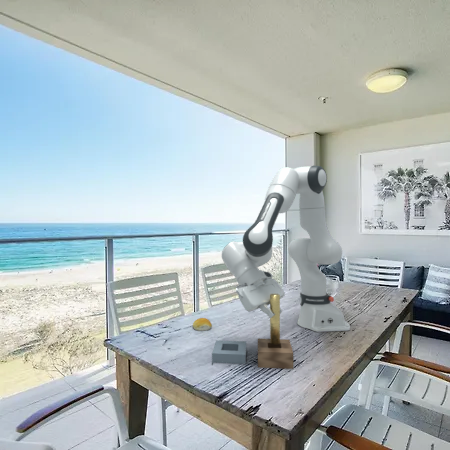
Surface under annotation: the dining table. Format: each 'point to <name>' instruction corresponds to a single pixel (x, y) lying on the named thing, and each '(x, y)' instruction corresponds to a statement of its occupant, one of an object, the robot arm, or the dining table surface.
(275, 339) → the brass peg
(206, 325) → the bread roll
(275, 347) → the walnut bore block
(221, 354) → the slate socket block
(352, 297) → the dining table surface
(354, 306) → the dining table surface
